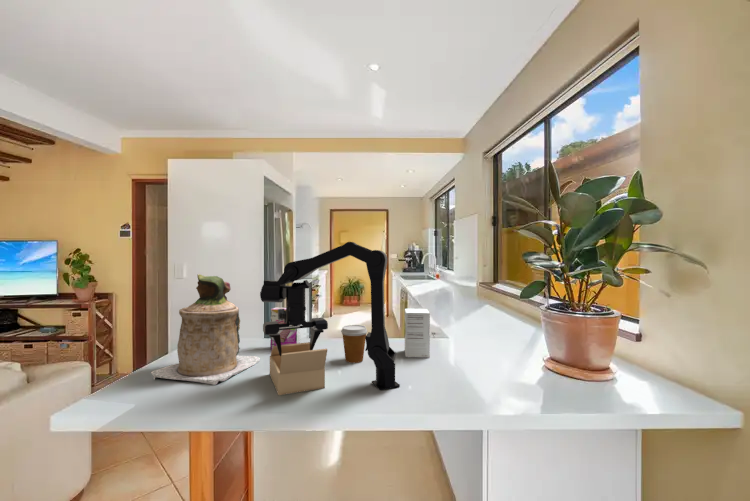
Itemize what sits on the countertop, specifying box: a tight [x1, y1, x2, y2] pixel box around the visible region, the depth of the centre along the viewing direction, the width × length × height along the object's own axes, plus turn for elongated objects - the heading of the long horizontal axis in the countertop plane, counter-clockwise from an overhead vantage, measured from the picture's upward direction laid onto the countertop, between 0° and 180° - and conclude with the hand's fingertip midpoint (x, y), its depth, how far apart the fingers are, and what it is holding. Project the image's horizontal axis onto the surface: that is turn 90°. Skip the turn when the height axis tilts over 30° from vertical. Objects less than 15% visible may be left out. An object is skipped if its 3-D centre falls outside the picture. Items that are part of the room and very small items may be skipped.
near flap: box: [280, 348, 328, 375], centre depth 97 cm, size 7×12×1 cm
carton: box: [269, 354, 326, 396], centre depth 107 cm, size 18×13×6 cm
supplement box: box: [404, 308, 431, 359], centre depth 136 cm, size 10×9×17 cm
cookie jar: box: [150, 273, 261, 386], centre depth 117 cm, size 25×25×32 cm
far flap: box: [270, 341, 310, 356], centre depth 113 cm, size 7×12×1 cm
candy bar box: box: [269, 306, 301, 350], centre depth 143 cm, size 11×5×16 cm, turn 84°
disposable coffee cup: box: [340, 324, 368, 364], centre depth 128 cm, size 10×10×12 cm
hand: (295, 353), depth 107 cm, fingers open, 9 cm apart
